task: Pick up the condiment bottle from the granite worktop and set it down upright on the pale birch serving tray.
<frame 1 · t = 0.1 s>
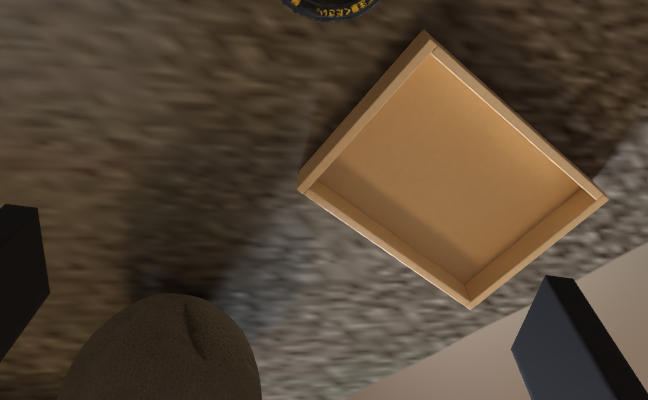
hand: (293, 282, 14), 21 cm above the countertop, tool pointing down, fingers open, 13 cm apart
grey round rock: (191, 326, 43), on the countertop
tray: (445, 176, 35), on the countertop
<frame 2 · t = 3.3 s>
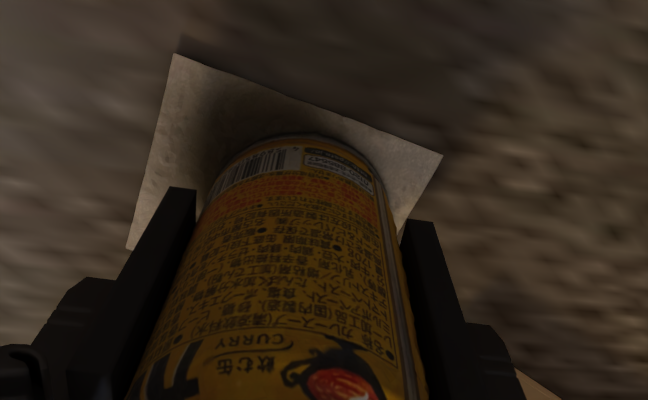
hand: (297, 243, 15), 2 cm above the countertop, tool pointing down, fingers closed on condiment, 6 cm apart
condiment: (276, 198, 17), on the countertop, touching gripper
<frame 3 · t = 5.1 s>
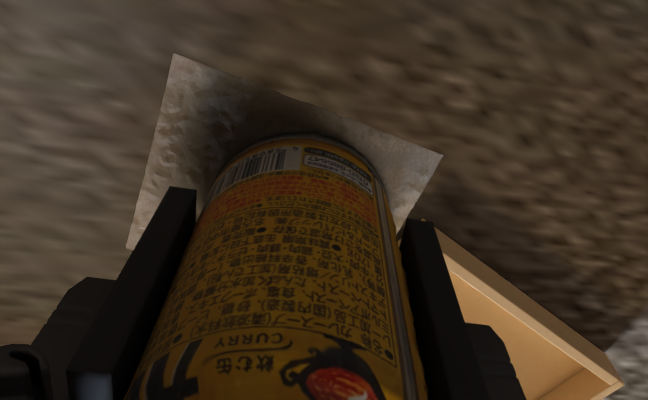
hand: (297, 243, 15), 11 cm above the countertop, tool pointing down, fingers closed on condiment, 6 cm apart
condiment: (276, 198, 17), point 9 cm above the countertop, touching gripper
tray: (447, 349, 33), on the countertop
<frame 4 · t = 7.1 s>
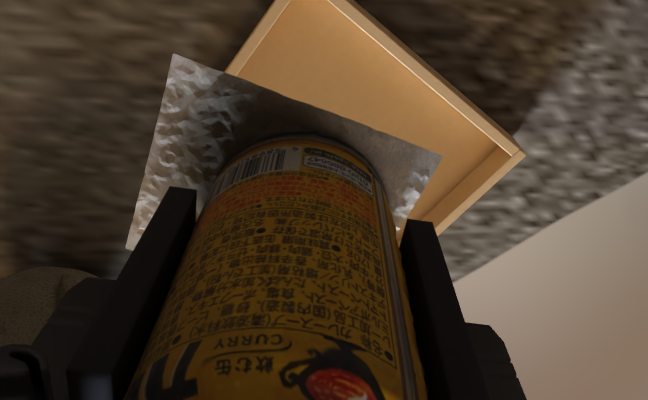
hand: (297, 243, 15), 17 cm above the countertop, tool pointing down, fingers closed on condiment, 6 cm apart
grey round rock: (90, 306, 39), on the countertop
condiment: (276, 198, 17), point 15 cm above the countertop, touching gripper
tray: (348, 133, 31), on the countertop
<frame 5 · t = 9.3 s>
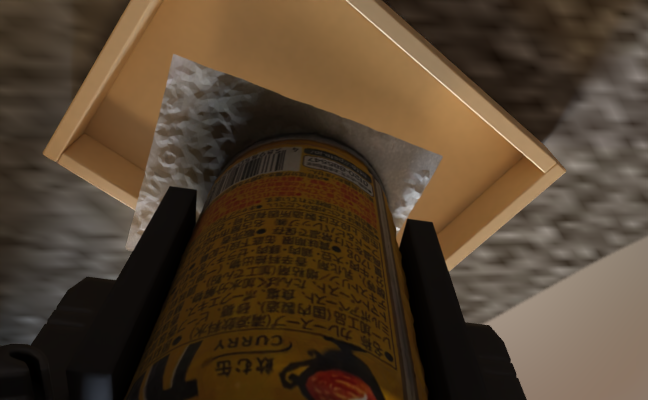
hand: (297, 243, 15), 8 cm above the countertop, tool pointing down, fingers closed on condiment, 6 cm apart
condiment: (276, 199, 17), point 5 cm above the countertop, touching gripper
tray: (307, 137, 22), on the countertop
when the fingers open (3 cm above the countertop, at t = 10.9 s): condiment stays where it is, resting on tray.
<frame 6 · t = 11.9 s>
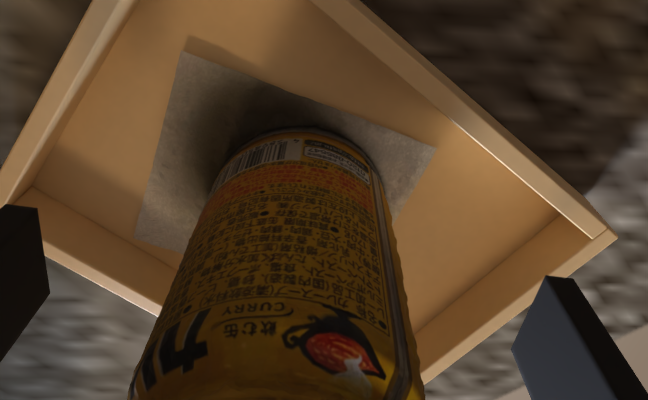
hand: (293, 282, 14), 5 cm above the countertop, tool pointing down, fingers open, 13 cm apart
condiment: (277, 189, 18), resting on tray
tray: (302, 189, 18), on the countertop
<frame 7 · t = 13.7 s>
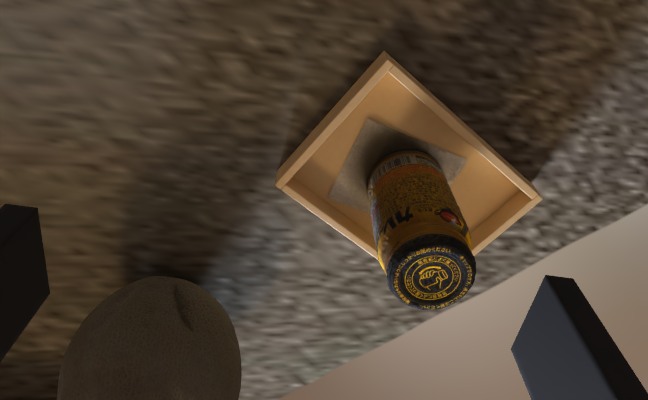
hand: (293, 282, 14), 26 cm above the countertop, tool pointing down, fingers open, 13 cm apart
grey round rock: (180, 308, 47), on the countertop
condiment: (395, 176, 40), resting on tray
tray: (405, 177, 41), on the countertop
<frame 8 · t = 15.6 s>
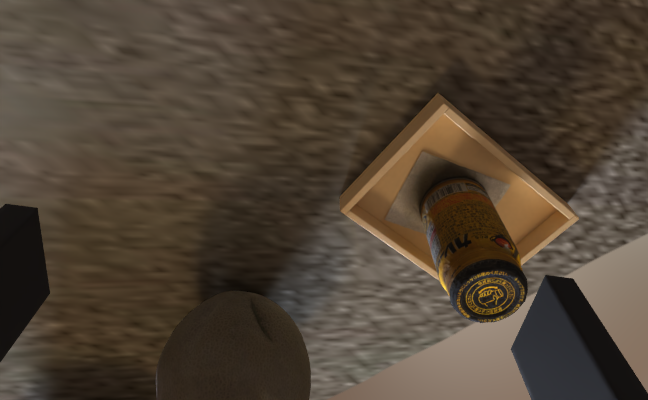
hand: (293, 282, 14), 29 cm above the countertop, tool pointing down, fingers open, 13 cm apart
grey round rock: (247, 317, 53), on the countertop
condiment: (445, 200, 45), resting on tray
tray: (453, 200, 45), on the countertop
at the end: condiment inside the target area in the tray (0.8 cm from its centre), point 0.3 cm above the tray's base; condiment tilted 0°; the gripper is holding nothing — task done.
